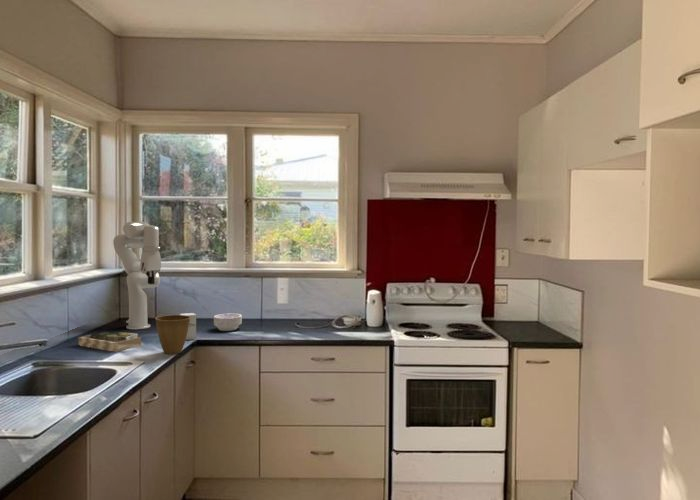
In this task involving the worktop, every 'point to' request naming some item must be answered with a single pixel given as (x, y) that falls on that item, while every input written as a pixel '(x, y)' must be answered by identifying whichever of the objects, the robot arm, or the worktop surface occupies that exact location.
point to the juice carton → (113, 336)
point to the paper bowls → (227, 321)
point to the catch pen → (109, 343)
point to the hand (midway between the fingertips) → (151, 283)
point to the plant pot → (172, 332)
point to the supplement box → (191, 326)
